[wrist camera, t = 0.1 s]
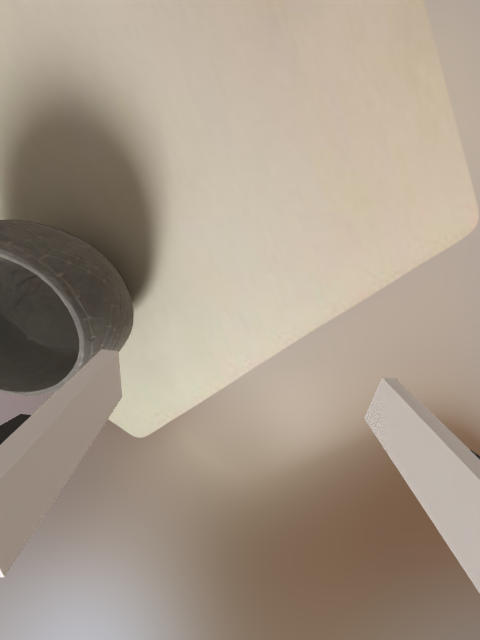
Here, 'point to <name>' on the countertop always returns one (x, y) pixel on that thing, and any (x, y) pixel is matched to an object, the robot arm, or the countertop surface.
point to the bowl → (55, 307)
